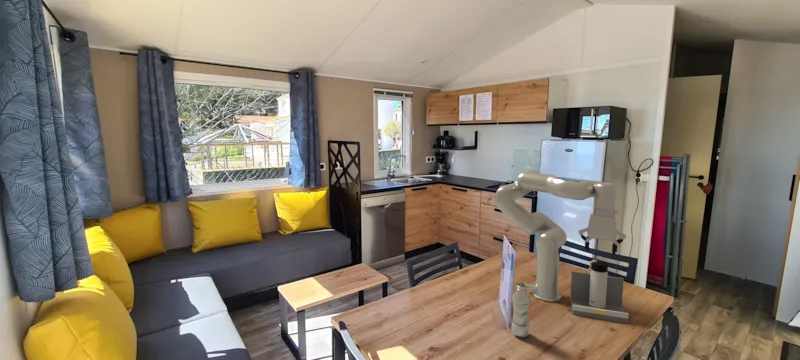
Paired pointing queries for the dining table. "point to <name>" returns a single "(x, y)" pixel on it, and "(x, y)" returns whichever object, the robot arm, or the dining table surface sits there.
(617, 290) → the grey bookend
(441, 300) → the dining table surface
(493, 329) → the dining table surface
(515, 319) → the plastic bottle
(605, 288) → the travel mug
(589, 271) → the figurine
